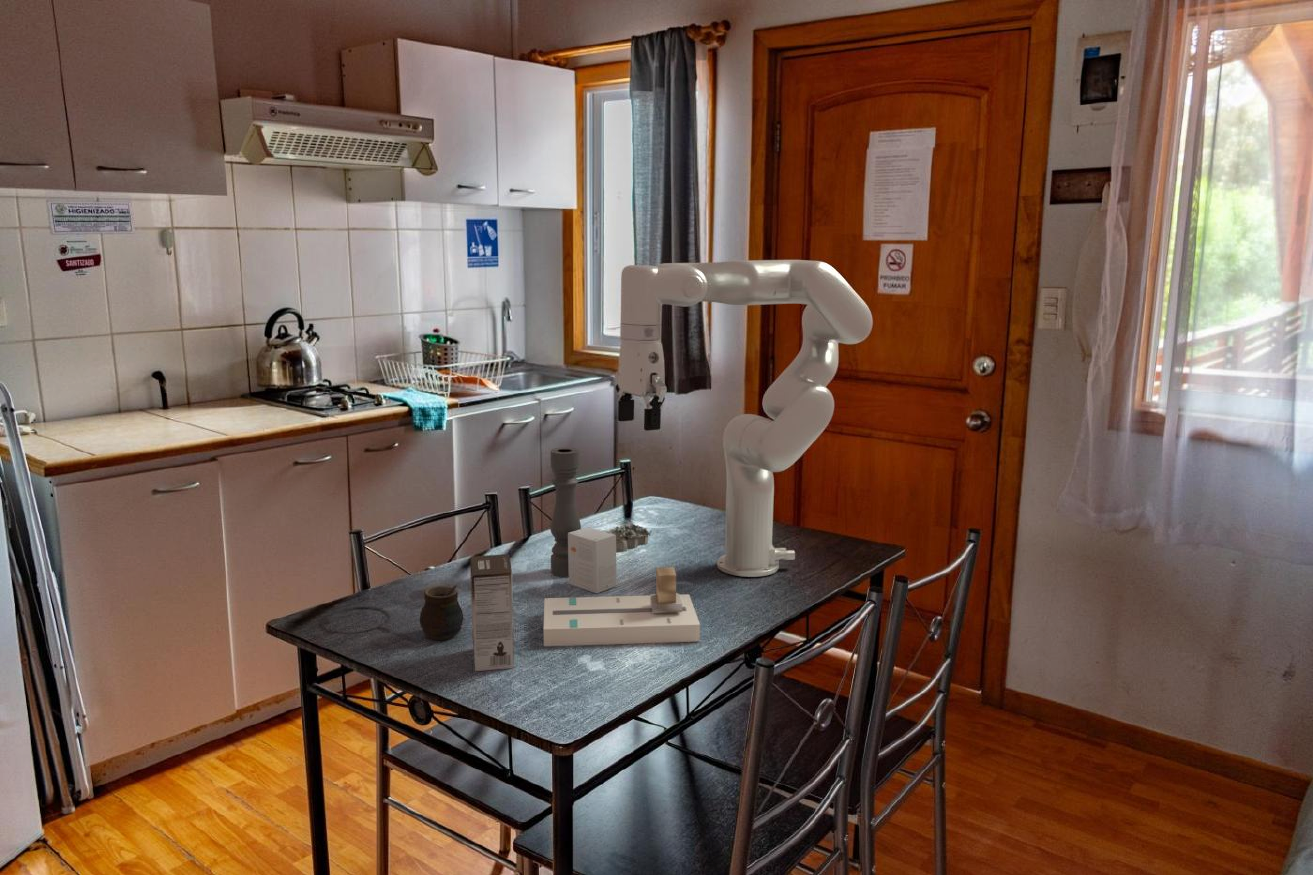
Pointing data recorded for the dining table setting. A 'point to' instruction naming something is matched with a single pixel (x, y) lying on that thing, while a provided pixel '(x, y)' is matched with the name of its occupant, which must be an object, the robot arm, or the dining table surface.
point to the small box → (592, 559)
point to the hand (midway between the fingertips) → (638, 425)
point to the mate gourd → (441, 613)
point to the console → (616, 621)
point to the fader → (665, 592)
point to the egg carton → (629, 536)
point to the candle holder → (563, 506)
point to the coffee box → (492, 612)
